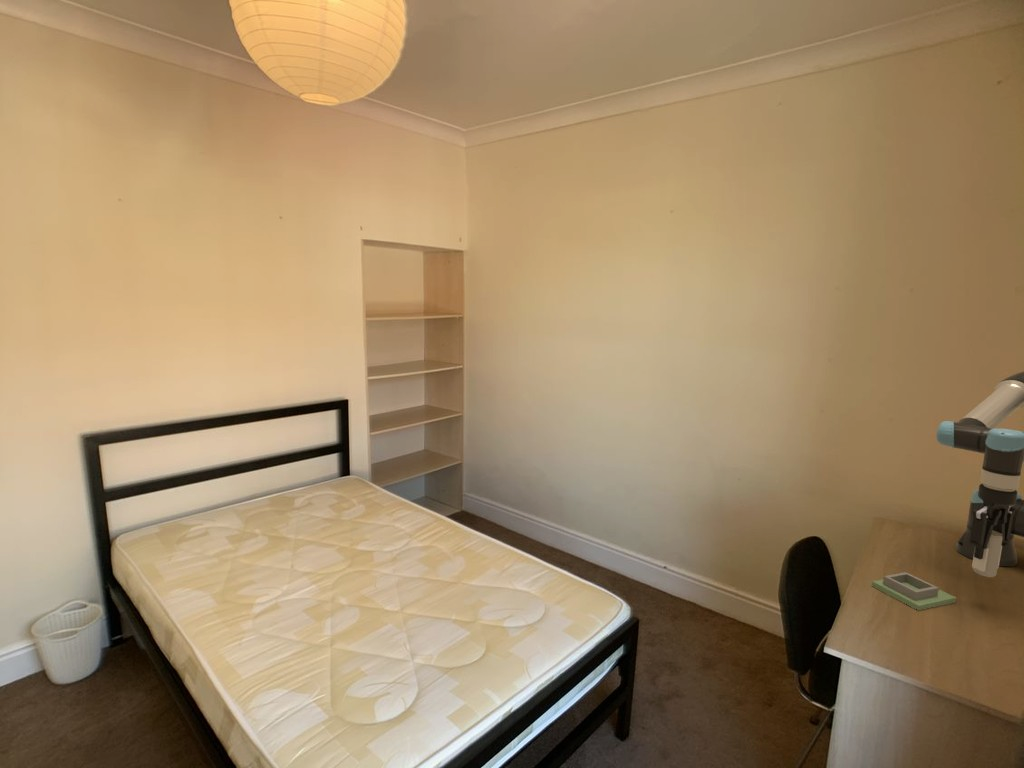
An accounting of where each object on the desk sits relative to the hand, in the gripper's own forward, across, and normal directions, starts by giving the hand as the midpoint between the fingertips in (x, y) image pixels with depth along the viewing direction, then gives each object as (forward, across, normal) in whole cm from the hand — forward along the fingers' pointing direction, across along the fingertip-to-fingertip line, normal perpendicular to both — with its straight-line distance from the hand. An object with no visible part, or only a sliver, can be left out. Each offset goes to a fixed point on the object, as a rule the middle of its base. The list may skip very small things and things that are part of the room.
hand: (985, 567), depth 141 cm
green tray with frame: (+11, +12, -9) cm, 19 cm away
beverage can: (+2, 0, 0) cm, 2 cm away
